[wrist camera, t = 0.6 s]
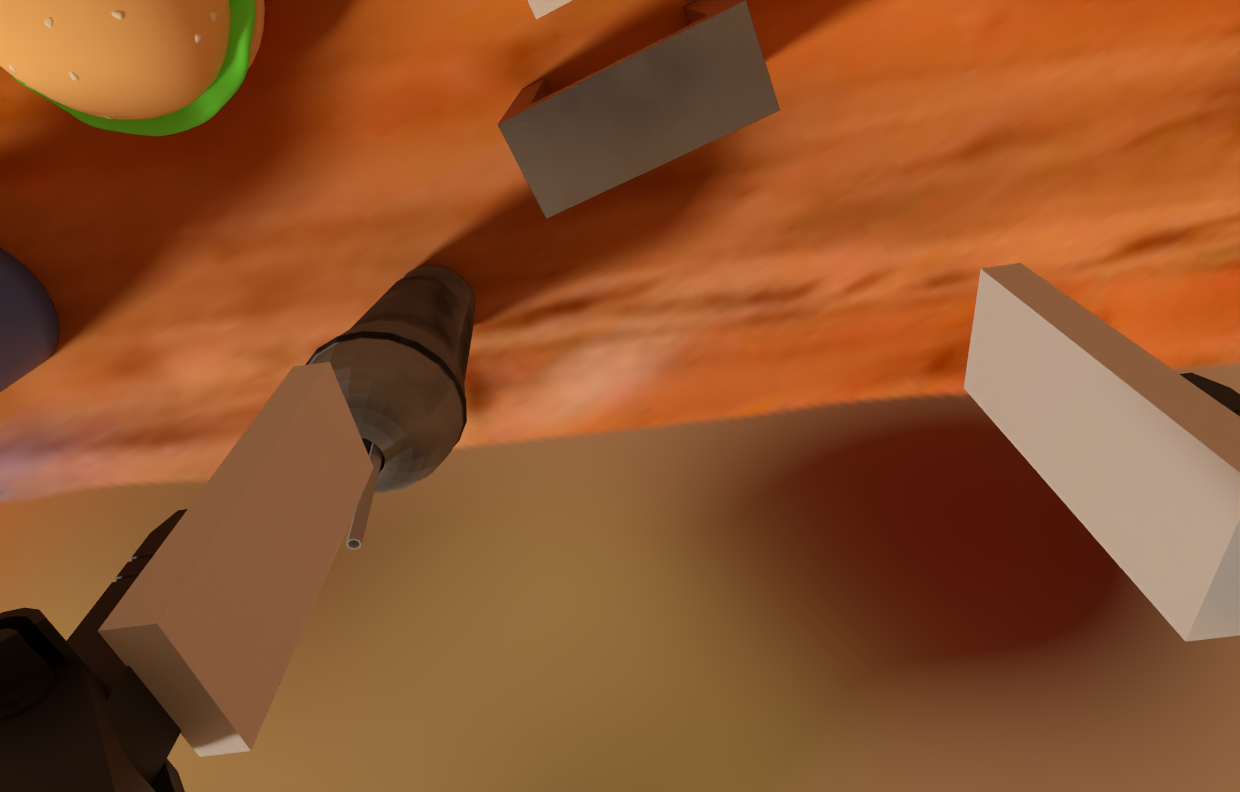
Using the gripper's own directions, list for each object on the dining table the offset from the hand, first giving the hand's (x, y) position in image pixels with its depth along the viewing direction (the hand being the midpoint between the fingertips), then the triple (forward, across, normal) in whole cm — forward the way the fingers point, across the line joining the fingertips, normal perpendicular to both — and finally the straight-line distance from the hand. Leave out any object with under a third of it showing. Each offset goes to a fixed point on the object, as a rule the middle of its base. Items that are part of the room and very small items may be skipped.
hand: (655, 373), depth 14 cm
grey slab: (+25, +1, +2) cm, 25 cm away
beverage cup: (+26, -12, -8) cm, 29 cm away
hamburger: (+26, -20, +9) cm, 34 cm away
